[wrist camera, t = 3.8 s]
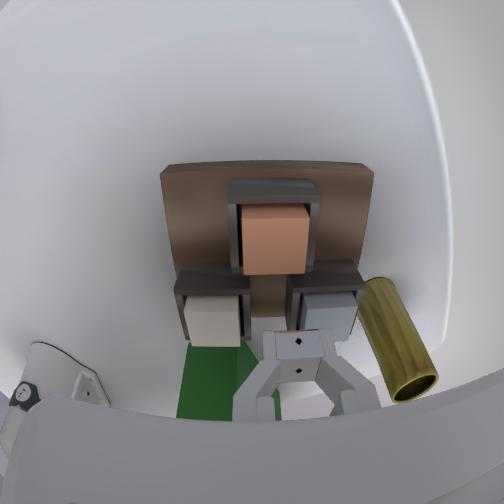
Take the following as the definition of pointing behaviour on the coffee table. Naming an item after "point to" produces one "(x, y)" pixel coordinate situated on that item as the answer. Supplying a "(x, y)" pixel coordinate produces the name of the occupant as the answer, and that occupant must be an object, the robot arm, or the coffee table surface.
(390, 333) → the vase
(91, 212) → the coffee table surface
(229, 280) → the block sorting tray
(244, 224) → the terracotta button
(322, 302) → the slate button
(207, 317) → the cream button
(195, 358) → the hardback book
